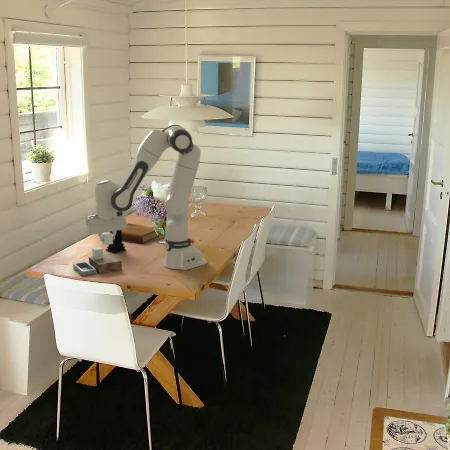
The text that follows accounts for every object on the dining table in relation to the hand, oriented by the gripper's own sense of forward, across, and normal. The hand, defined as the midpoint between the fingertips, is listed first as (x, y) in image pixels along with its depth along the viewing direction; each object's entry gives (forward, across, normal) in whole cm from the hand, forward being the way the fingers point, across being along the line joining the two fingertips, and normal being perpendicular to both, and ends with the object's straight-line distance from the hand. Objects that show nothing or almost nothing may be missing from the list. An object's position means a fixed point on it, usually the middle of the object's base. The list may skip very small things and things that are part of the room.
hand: (107, 240), depth 293 cm
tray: (+15, -11, +5) cm, 20 cm away
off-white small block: (+2, 0, 0) cm, 2 cm away
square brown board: (+16, -1, +4) cm, 16 cm away
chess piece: (+16, +15, +29) cm, 36 cm away
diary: (+16, +35, +48) cm, 62 cm away
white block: (+10, -3, +7) cm, 13 cm away
